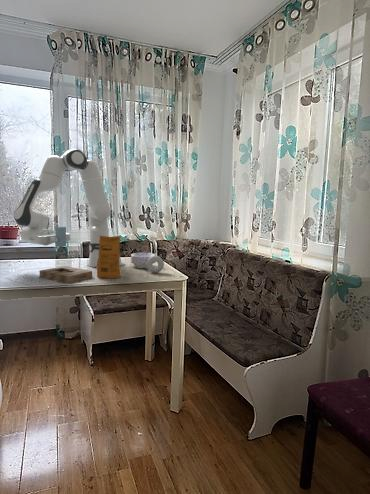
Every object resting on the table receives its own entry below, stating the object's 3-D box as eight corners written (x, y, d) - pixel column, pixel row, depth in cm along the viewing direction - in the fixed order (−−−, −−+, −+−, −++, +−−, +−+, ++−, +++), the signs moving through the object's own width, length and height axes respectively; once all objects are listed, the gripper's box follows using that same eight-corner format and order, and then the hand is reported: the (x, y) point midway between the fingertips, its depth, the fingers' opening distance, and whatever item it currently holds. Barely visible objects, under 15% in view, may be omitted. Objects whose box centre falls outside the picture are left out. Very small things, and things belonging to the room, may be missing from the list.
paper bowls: (133, 270, 199) (134, 256, 198) (128, 265, 213) (128, 252, 212) (158, 268, 205) (158, 256, 204) (151, 264, 219) (151, 252, 218)
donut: (163, 272, 195) (164, 255, 194) (163, 273, 192) (164, 256, 191) (146, 272, 194) (146, 255, 193) (146, 273, 191) (146, 256, 190)
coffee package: (98, 274, 184) (98, 234, 181) (121, 274, 185) (121, 235, 182) (95, 278, 175) (95, 236, 172) (119, 279, 176) (119, 237, 173)
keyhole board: (39, 277, 173) (39, 270, 173) (64, 272, 187) (64, 265, 186) (68, 283, 163) (68, 276, 162) (92, 277, 177) (92, 270, 176)
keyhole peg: (54, 254, 174) (53, 226, 172) (61, 253, 178) (61, 226, 176) (60, 255, 172) (60, 227, 170) (68, 254, 176) (67, 226, 174)
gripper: (26, 232, 171) (44, 234, 164) (59, 230, 188) (77, 232, 182) (27, 244, 172) (45, 247, 165) (59, 241, 189) (77, 243, 183)
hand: (62, 239), depth 173 cm, fingers closed on keyhole peg, 4 cm apart
